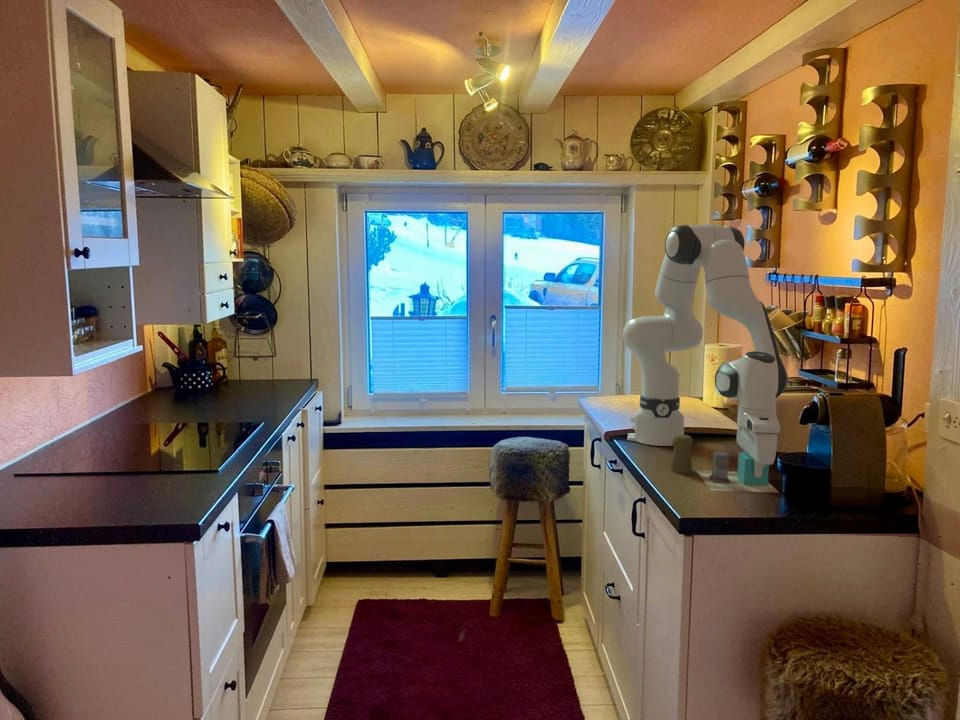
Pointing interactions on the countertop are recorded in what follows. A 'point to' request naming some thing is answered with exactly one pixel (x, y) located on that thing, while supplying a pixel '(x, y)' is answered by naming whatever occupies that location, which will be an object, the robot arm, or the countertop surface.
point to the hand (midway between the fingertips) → (752, 472)
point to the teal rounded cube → (750, 471)
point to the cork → (681, 454)
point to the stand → (728, 477)
